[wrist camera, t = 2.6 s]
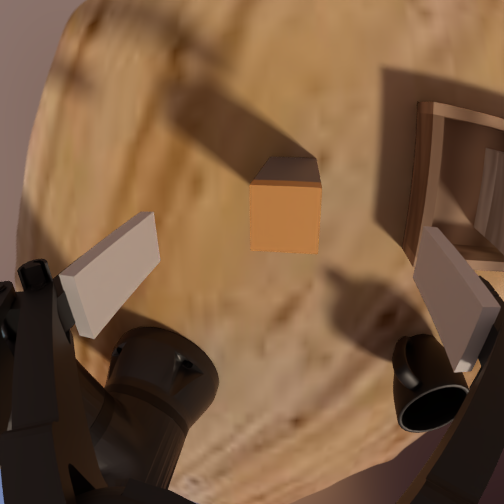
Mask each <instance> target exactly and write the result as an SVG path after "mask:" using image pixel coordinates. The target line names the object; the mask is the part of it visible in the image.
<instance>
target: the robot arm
mask: <svg viewBox="0 0 504 504" xmlns="http://www.w3.org/2000/svg"><path fill="white" fill-rule="evenodd" d="M159 262H160V254H159V247H158V240H157V233H156V226H155V218H154V212H140V213H138V214H137V215H135V216H134V217H133V218H131V219H130V220H129V221H127V222H126V223H124V224H123V225H122V226H120V227H119V228H118V229H116V230H115V231H114V232H112V233H111V234H110V235H108V236H107V237H106V238H104V239H103V240H102V241H100V242H99V243H98V244H96V245H95V246H94V247H92V248H91V249H90V250H89V251H87V252H86V253H85V254H84V255H82V256H81V257H79V258H78V259H77V260H75V261H74V262H73V263H72V264H70V265H69V266H68V267H67V268H66V269H64V270H63V271H62V272H61V273H59V274H58V275H57V276H56V277H55V278H53V279H52V276H51V273H50V270H49V267H48V263H47V260H45V259H36V260H32V261H29V262H27V263H25V264H23V265H22V266H21V267H20V268H19V269H18V271H17V272H18V275H19V278H20V281H21V283H22V286H23V289H24V292H15V289H14V287H13V284H12V282H10V281H4V282H0V469H1V477H2V488H3V497H4V504H196V503H194V502H192V501H190V500H188V499H186V498H184V497H182V496H180V495H178V494H176V493H174V492H172V491H170V490H168V487H169V484H170V481H171V479H172V476H173V473H174V470H175V467H176V464H177V461H178V459H179V456H180V453H181V450H182V447H183V444H184V441H185V438H186V436H187V433H188V431H189V429H190V428H191V426H192V425H193V424H194V423H195V422H196V421H197V420H198V419H199V418H200V416H201V415H202V414H203V413H204V412H205V411H206V410H207V409H208V407H209V406H210V405H211V404H212V402H213V400H214V398H215V395H216V392H217V389H218V385H219V378H218V373H217V371H216V368H215V366H214V365H213V363H212V362H211V360H210V359H209V358H208V356H207V355H206V354H205V353H204V352H203V351H202V350H201V349H199V348H198V347H197V346H196V345H194V344H193V343H191V342H190V341H188V340H187V339H185V338H183V337H181V336H179V335H177V334H175V333H172V332H170V331H166V330H163V329H159V328H152V327H141V328H136V329H133V330H130V331H128V332H127V333H126V334H124V335H123V337H122V338H121V339H120V341H119V342H118V343H117V345H116V346H115V348H114V350H113V353H112V357H111V362H110V366H109V371H108V376H107V381H106V385H105V387H104V388H103V386H102V385H101V384H100V383H99V382H98V381H97V380H96V379H95V378H94V377H93V376H92V375H91V374H90V373H89V372H88V371H87V370H86V369H85V368H84V367H83V366H82V365H81V364H80V363H79V361H78V360H77V359H76V357H75V350H74V342H73V336H72V333H71V330H70V328H71V327H72V326H73V325H74V324H76V327H77V330H78V332H79V335H80V336H84V337H88V338H92V339H95V338H96V337H97V335H98V334H99V333H100V332H101V330H102V329H103V328H104V327H105V325H106V324H107V323H108V322H109V321H110V319H111V318H112V317H113V316H114V315H115V313H116V312H117V311H118V310H119V309H120V307H121V306H122V305H123V304H124V303H125V301H126V300H127V299H128V298H129V297H130V296H131V294H132V293H133V292H134V291H135V290H136V288H137V287H138V286H139V285H140V284H141V283H142V282H143V280H144V279H145V278H146V277H147V276H148V275H149V273H150V272H151V271H152V270H153V269H154V268H155V267H156V266H157V264H158V263H159ZM413 279H414V281H415V283H416V285H417V287H418V289H419V291H420V293H421V295H422V298H423V300H424V302H425V304H426V306H427V308H428V311H429V313H430V315H431V317H432V320H433V322H434V324H435V326H436V329H437V331H438V333H439V336H440V338H441V341H442V343H443V346H444V348H445V350H446V353H447V356H448V358H449V361H450V363H451V366H452V368H453V371H454V372H467V371H472V369H473V367H474V365H475V363H476V361H477V359H479V361H480V364H481V368H480V370H479V372H478V373H477V375H476V377H475V379H474V381H473V382H472V384H471V386H470V390H469V392H468V394H467V396H466V398H465V400H464V402H463V404H462V405H461V407H460V409H459V411H458V413H457V415H456V416H455V418H454V420H453V422H452V423H451V425H450V427H449V428H448V430H447V432H446V434H445V435H444V437H443V438H442V440H441V442H440V443H439V445H438V446H437V448H436V449H435V451H434V452H433V454H432V456H431V457H430V458H429V460H428V461H427V463H426V464H425V466H424V467H423V469H422V470H421V471H420V473H419V474H418V475H417V477H416V478H415V479H414V481H413V482H412V483H411V485H410V486H409V487H408V489H407V490H406V491H405V492H404V494H403V495H402V496H401V497H400V499H399V500H398V501H397V502H396V504H478V502H479V500H480V498H481V496H482V494H483V492H484V490H485V488H486V486H487V484H488V482H489V480H490V478H491V476H492V473H493V471H494V469H495V467H496V465H497V462H498V460H499V458H500V455H501V453H502V450H503V448H504V302H503V300H502V299H501V297H499V295H498V293H497V292H496V291H494V290H495V289H494V288H493V287H492V286H491V284H490V283H489V282H488V281H486V280H485V279H484V278H482V277H481V276H478V275H477V274H476V273H475V271H474V270H473V269H472V268H471V266H470V265H469V264H468V263H467V261H466V260H465V259H464V258H463V257H462V255H461V254H460V253H459V252H458V251H457V249H456V248H455V247H454V246H453V245H452V243H451V242H450V241H449V240H448V239H447V238H446V237H445V235H444V234H443V233H442V232H441V231H440V230H439V229H438V228H437V227H427V226H423V232H422V237H421V242H420V247H419V252H418V257H417V262H416V266H415V270H414V275H413Z"/></svg>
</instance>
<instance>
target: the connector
mask: <svg viewBox="0 0 504 504" xmlns="http://www.w3.org/2000/svg"><path fill="white" fill-rule="evenodd" d="M321 198H322V185H321V180H320V175H319V170H318V165H317V160H316V158H299V157H270V158H269V159H268V161H267V162H266V163H265V165H264V166H263V167H262V169H261V170H260V171H259V173H258V174H257V176H256V177H255V178H254V180H253V181H252V182H251V184H250V244H251V250H252V251H270V252H287V253H305V254H318V244H319V230H320V215H321Z"/></svg>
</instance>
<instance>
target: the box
mask: <svg viewBox="0 0 504 504" xmlns="http://www.w3.org/2000/svg"><path fill="white" fill-rule="evenodd" d="M423 226H427V227H437V228H438V229H439V230H440V231H441V232H442V233H443V234H444V235H445V237H446V238H447V239H448V240H449V241H450V242H451V243H452V245H453V246H454V247H455V248H456V249H457V251H458V252H459V253H460V254H461V255H462V257H463V258H464V259H465V260H466V261H467V263H468V264H469V265H470V266H471V268H472V269H473V270H479V271H500V272H504V119H502V118H499V117H495V116H492V115H488V114H484V113H481V112H477V111H473V110H469V109H465V108H461V107H456V106H452V105H447V104H442V103H437V102H417V124H416V141H415V154H414V166H413V176H412V185H411V193H410V201H409V208H408V215H407V222H406V228H405V234H404V240H403V245H402V249H403V251H404V252H405V254H406V256H407V257H408V259H409V261H410V263H411V264H412V266H413V267H415V266H416V262H417V257H418V252H419V247H420V242H421V237H422V232H423Z"/></svg>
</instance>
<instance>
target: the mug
mask: <svg viewBox="0 0 504 504" xmlns="http://www.w3.org/2000/svg"><path fill="white" fill-rule="evenodd" d="M392 363H393V369H394V381H393V394H394V403H395V409H396V414H397V420H398V424H399V425H400V427H401V428H402V429H404V430H405V431H409V432H416V433H419V432H427V431H432V430H435V429H438V428H440V427H442V426H445V425H446V424H448V423H450V422H452V421H453V420H454V418H455V416H456V415H457V413H458V411H459V409H460V407H461V405H462V404H463V402H464V400H465V398H466V396H467V394H468V392H469V388H468V385H467V383H466V380H465V378H464V375H463V373H462V372H454V371H453V368H452V366H451V363H450V361H449V358H448V356H447V353H446V350H445V348H444V347H443V346H442V345H441V344H440V343H439V342H438V341H437V340H436V339H435V338H434V337H433V336H431V335H427V334H420V335H416V336H413V337H411V338H409V337H408V336H404V337H402V338H400V339H399V340H398V342H397V343H396V346H395V349H394V352H393V357H392Z"/></svg>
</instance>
